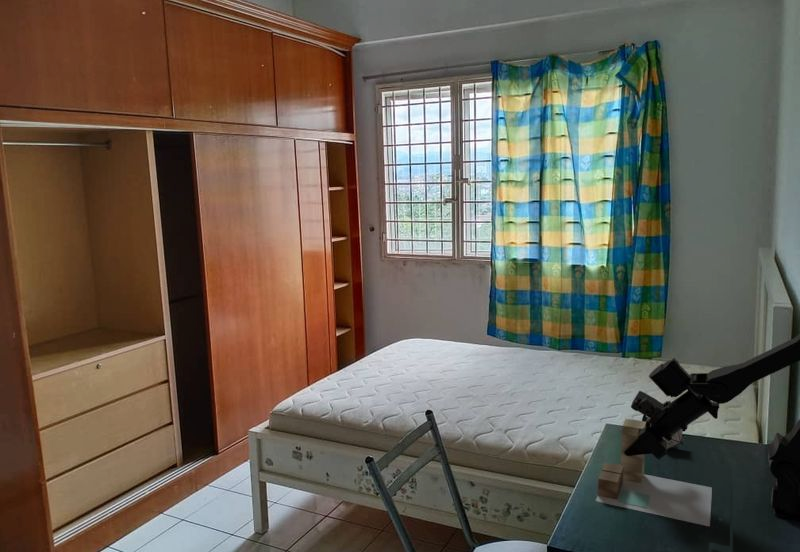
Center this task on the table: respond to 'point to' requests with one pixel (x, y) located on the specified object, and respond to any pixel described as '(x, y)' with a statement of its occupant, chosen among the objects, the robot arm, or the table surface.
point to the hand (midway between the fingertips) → (626, 449)
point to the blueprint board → (665, 499)
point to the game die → (674, 440)
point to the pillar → (636, 462)
